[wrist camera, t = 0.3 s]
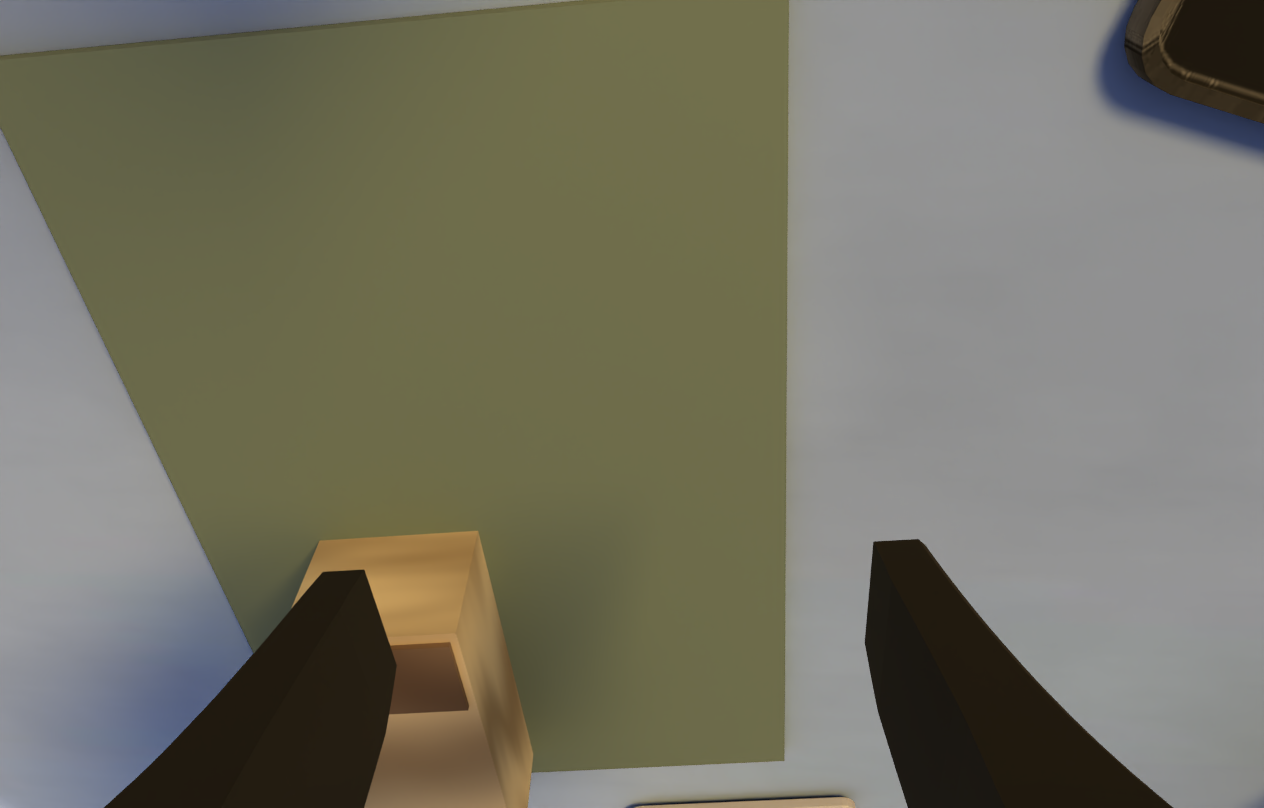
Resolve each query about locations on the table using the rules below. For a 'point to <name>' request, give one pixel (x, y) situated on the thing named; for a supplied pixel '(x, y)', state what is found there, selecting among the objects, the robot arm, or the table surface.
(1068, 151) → the table surface
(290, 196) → the rubber mat
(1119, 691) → the table surface
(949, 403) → the table surface
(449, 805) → the wooden cubby box
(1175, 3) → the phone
